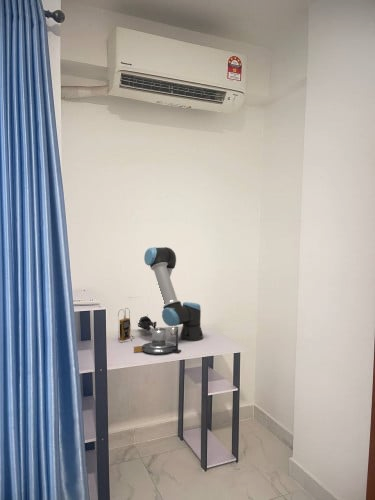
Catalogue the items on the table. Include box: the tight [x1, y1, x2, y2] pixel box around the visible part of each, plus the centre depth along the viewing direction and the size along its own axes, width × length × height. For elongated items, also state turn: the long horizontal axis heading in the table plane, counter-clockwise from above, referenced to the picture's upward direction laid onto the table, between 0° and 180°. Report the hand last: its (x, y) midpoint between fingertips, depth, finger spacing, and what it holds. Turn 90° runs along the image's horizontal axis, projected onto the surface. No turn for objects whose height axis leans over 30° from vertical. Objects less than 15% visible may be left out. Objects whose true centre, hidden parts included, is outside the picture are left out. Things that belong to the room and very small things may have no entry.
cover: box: [149, 327, 168, 350], centre depth 214 cm, size 11×11×11 cm
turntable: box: [133, 341, 176, 355], centre depth 214 cm, size 24×20×2 cm
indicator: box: [167, 326, 182, 354], centre depth 211 cm, size 7×5×14 cm
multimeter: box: [117, 307, 135, 343], centre depth 235 cm, size 15×10×20 cm
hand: (152, 330), depth 229 cm, fingers closed
